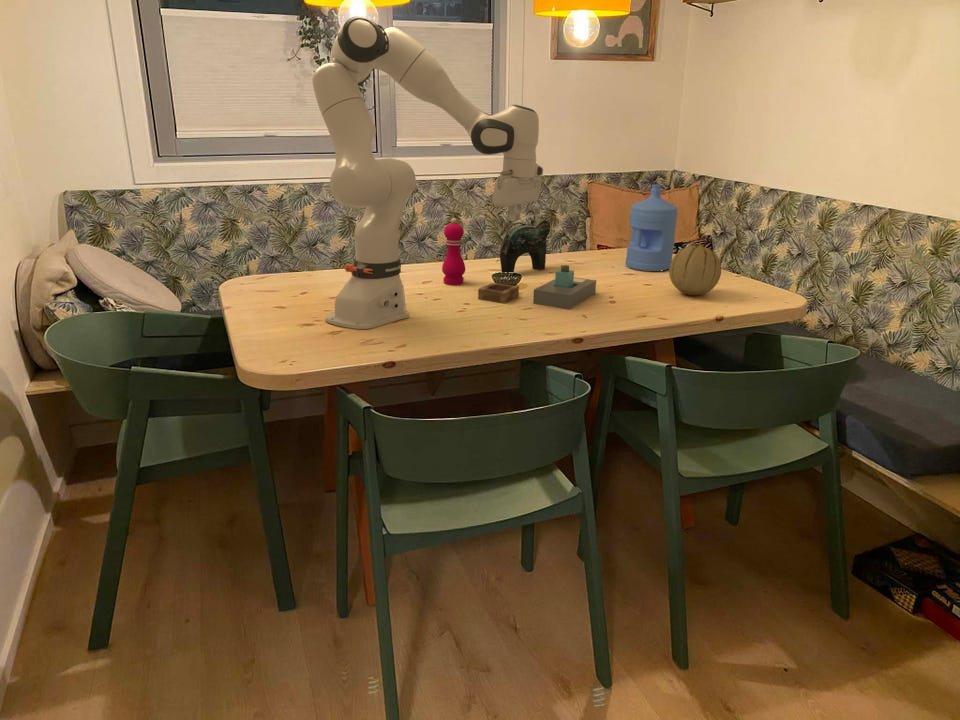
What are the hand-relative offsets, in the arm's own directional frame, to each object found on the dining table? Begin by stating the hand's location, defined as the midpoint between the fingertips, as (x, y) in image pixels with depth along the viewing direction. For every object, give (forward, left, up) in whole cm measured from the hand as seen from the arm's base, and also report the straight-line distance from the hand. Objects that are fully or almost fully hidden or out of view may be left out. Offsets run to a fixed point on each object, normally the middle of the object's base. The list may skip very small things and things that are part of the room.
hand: (514, 220), depth 192 cm
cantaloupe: (+32, -44, -22) cm, 59 cm away
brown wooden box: (-3, +3, -22) cm, 22 cm away
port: (+7, -14, -22) cm, 27 cm away
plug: (+7, -13, -22) cm, 27 cm away
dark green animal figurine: (+31, +11, -22) cm, 40 cm away
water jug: (+61, -22, -22) cm, 69 cm away
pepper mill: (+5, +23, -22) cm, 32 cm away
